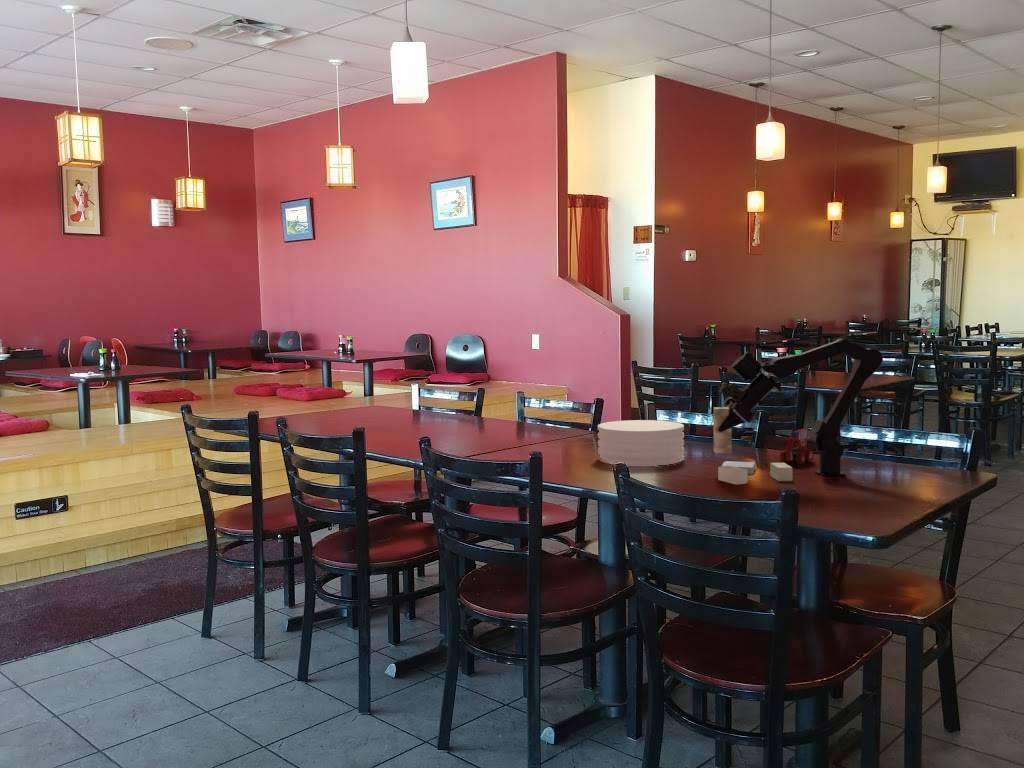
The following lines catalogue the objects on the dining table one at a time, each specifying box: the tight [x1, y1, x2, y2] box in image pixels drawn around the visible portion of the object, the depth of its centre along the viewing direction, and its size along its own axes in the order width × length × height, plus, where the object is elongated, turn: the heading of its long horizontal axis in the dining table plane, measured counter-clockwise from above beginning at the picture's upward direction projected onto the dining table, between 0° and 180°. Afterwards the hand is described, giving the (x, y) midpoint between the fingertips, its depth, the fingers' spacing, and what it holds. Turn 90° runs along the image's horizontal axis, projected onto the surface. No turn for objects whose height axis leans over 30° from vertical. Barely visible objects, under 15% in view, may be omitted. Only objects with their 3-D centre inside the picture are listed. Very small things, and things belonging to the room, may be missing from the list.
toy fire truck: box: [779, 428, 814, 465], centre depth 278 cm, size 7×12×10 cm, turn 136°
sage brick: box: [769, 462, 793, 482], centre depth 253 cm, size 8×4×4 cm, turn 179°
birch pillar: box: [712, 406, 733, 454], centre depth 259 cm, size 4×4×13 cm
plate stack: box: [597, 419, 685, 467], centre depth 290 cm, size 28×28×12 cm
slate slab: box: [721, 460, 756, 475], centre depth 266 cm, size 9×9×2 cm
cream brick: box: [717, 465, 748, 486], centre depth 250 cm, size 8×4×4 cm, turn 24°
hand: (717, 429), depth 259 cm, fingers closed on birch pillar, 4 cm apart
